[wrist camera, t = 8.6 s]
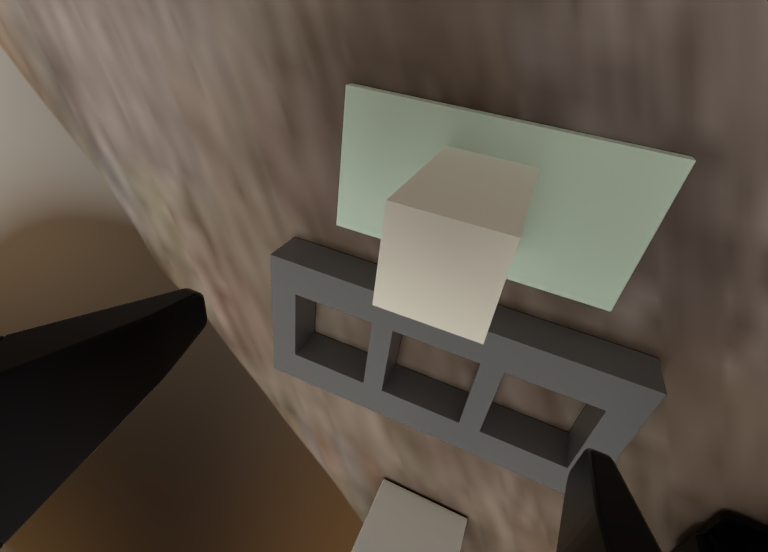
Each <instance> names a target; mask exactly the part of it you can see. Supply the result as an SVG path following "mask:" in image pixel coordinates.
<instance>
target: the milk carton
mask: <svg viewBox="0 0 768 552" xmlns="http://www.w3.org/2000/svg"><path fill="white" fill-rule="evenodd" d="M466 524H467V518H465V517H463V516H461V515H458V514H456V513H454V512H452V511H450V510H448V509H446V508H444V507H442V506H440V505H438V504H436V503H434V502H431V501H429V500H427V499H425V498H423V497H421V496H419V495H417V494H415V493H413V492H411V491H408V490H406V489H404V488H402V487H400V486H398V485H396V484H394V483H392V482H389V481H387V480H385V479H383V481H382V483H381V485H380V487H379V490H378V492H377V494H376V497H375V499H374V501H373V503H372V506H371V508H370V510H369V513H368V515H367V517H366V519H365V522H364V524H363V526H362V529H361V531H360V533H359V535H358V538H357V540H356V542H355V545H354V547H353V549H352V551H351V552H460V550H461V545H462V541H463V537H464V532H465V528H466Z"/></svg>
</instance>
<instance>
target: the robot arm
mask: <svg viewBox="0 0 768 552" xmlns="http://www.w3.org/2000/svg"><path fill="white" fill-rule="evenodd" d="M206 323H207V314H206V307H205V301H204V297H203V295H202V294H201V293H199V292H197V291H194V290H192V289H188V288H185V289H181V290H177V291H173V292H169V293H165V294H162V295H158V296H154V297H150V298H146V299H142V300H138V301H135V302H131V303H127V304H123V305H119V306H115V307H111V308H108V309H104V310H100V311H96V312H93V313H88V314H85V315H81V316H77V317H73V318H69V319H65V320H62V321H58V322H54V323H50V324H46V325H42V326H39V327H35V328H31V329H27V330H23V331H20V332H16V333H12V334H8V335H6V336H5V337H4V336H0V549H1V547H2V546H3V544H5V543H6V542H7V541H8V540H9V539H10V538H11V537H12V536H13V535H14V534H15V533H16V532H17V531H18V530H19V529H20V528H21V527H22V525H23V524H24V523H25V522H26V521H27V520H28V519H29V518H30V517H31V516H32V515H33V514H34V513H35V512H36V511H37V510H38V509H39V508H40V507H41V506H42V505H43V504H44V503H45V501H47V499H48V498H49V497H50V496H51V495H52V494H53V493H54V492H55V491H56V490H57V489H58V488H59V487H60V486H61V485H62V484H63V483H64V482H65V481H66V480H67V479H68V478H69V477H70V476H71V474H72V473H73V472H74V471H75V470H76V469H77V468H78V467H79V466H80V465H81V464H82V463H83V462H84V461H85V460H86V459H87V458H88V457H89V456H90V455H91V454H92V453H93V452H94V451H95V449H97V447H98V446H99V445H100V444H101V443H102V442H103V441H104V440H105V439H106V438H107V437H108V436H109V435H110V434H111V433H112V432H113V431H114V430H115V429H116V428H117V427H118V426H119V425H120V424H121V422H122V421H123V420H124V419H125V418H126V417H127V416H128V415H129V414H130V413H131V412H132V411H133V410H134V409H135V408H136V407H137V406H138V405H139V404H140V403H141V402H142V401H143V400H144V398H145V397H146V396H147V395H148V394H149V393H150V392H151V391H152V390H153V389H154V388H155V387H156V386H157V385H158V384H159V383H160V382H161V381H162V380H163V379H164V377H165V376H166V375H167V374H168V373H169V372H170V370H171V369H172V368H173V367H174V365H175V364H176V363H177V362H178V360H179V359H180V358H181V357H182V355H183V354H184V353H185V352H186V350H187V349H188V348H189V346H190V345H191V344H192V343H193V341H194V340H195V339H196V338H197V336H198V335H199V334H200V333H201V331H202V330H203V329H204V327H205V325H206ZM556 552H662V551H661V549H660V547H659V545H658V543H657V541H656V540H655V538H654V536H653V534H652V532H651V530H650V528H649V526H648V525H647V523H646V521H645V519H644V517H643V515H642V513H641V511H640V510H639V508H638V506H637V504H636V502H635V500H634V498H633V496H632V495H631V493H630V491H629V489H628V487H627V485H626V483H625V481H624V480H623V478H622V476H621V474H620V472H619V470H618V468H617V466H616V465H615V463H614V461H613V459H612V458H611V457H610V456H609V455H607V454H605V453H602V452H599V451H597V450H594V449H592V448H587V449H585V450H584V451H583V453H582V454H581V456H580V457H579V459H578V460H577V462H576V463H575V464H574V466H573V467H572V469H571V470H570V472H569V475H568V478H567V483H566V490H565V497H564V503H563V510H562V517H561V524H560V531H559V537H558V544H557V551H556ZM674 552H768V527H766V526H764V525H761V524H759V523H756V522H754V521H751V520H749V519H747V518H744V517H742V516H739V515H737V514H734V513H731V512H721V513H719V514H717V515H716V516H715V517H714V518H713V519H711V520H710V521H709V522H708V523H707V524H706V525H704V526H703V527H702V528H701V529H700V530H698V531H697V532H696V533H695V534H694V535H693V536H691V537H690V538H689V539H688V540H687V541H685V542H684V543H683V544H682V545H681V546H680V547H678V548H677V549H676V550H675V551H674Z"/></svg>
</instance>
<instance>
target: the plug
mask: <svg viewBox="0 0 768 552" xmlns="http://www.w3.org/2000/svg"><path fill="white" fill-rule="evenodd" d="M539 172H540V168H538V167H534V166H530V165H526V164H521V163H517V162H513V161H509V160H504V159H500V158H496V157H492V156H487V155H483V154H479V153H475V152H470V151H466V150H462V149H458V148H453V147H449V146H446V147H445V148H444V149H443V150H442V151H441V152H440V153H438V154H437V155H436V156H435V157H434V158H433V159H432V160H431V161H429V162H428V163H427V164H426V165H425V166H424V167H423V168H422V169H420V170H419V171H418V172H417V173H416V174H415V175H414V176H413V177H411V178H410V179H409V180H408V181H407V182H406V183H405V184H404V185H402V186H401V187H400V188H399V189H398V190H397V191H396V192H395V193H393V194H392V195H391V196H390V197H389V198H388V199H387V200H386V204H385V212H384V220H383V227H382V235H381V242H380V250H379V258H378V265H377V273H376V281H375V288H374V296H373V303H372V305H374V306H377V307H379V308H382V309H385V310H388V311H391V312H394V313H396V314H399V315H402V316H405V317H408V318H410V319H413V320H416V321H419V322H422V323H424V324H427V325H430V326H433V327H436V328H438V329H441V330H444V331H447V332H450V333H452V334H455V335H458V336H461V337H464V338H467V339H469V340H472V341H475V342H478V343H481V344H484V341H485V338H486V335H487V332H488V330H489V327H490V324H491V321H492V318H493V315H494V312H495V309H496V307H497V304H498V301H499V298H500V295H501V292H502V289H503V287H504V284H505V281H506V278H507V275H508V272H509V269H510V267H511V264H512V261H513V258H514V255H515V252H516V249H517V246H518V244H519V241H520V238H521V234H522V231H523V227H524V224H525V220H526V217H527V213H528V210H529V207H530V203H531V200H532V196H533V193H534V189H535V186H536V182H537V179H538V175H539Z"/></svg>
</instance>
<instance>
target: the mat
mask: <svg viewBox="0 0 768 552" xmlns="http://www.w3.org/2000/svg"><path fill="white" fill-rule="evenodd" d="M446 146H449V147H453V148H458V149H462V150H466V151H470V152H475V153H479V154H483V155H487V156H492V157H496V158H500V159H504V160H509V161H513V162H517V163H521V164H526V165H530V166H534V167H538V168H540V172H539V175H538V179H537V182H536V186H535V189H534V193H533V196H532V200H531V203H530V207H529V210H528V213H527V217H526V220H525V224H524V227H523V231H522V234H521V238H520V241H519V244H518V246H517V249H516V252H515V255H514V258H513V261H512V264H511V267H510V269H509V272H508V275H507V278H506V279H509V280H512V281H515V282H518V283H521V284H524V285H528V286H531V287H534V288H537V289H540V290H543V291H546V292H550V293H553V294H556V295H559V296H562V297H565V298H569V299H572V300H575V301H578V302H581V303H584V304H588V305H591V306H594V307H597V308H600V309H603V310H607V311H610V312H611V310H612V309H613V307H614V305H615V303H616V302H617V300H618V298H619V296H620V294H621V293H622V291H623V289H624V287H625V286H626V284H627V282H628V280H629V279H630V277H631V275H632V273H633V271H634V270H635V268H636V266H637V264H638V263H639V261H640V259H641V257H642V256H643V254H644V252H645V250H646V248H647V247H648V245H649V243H650V241H651V240H652V238H653V236H654V234H655V233H656V231H657V229H658V227H659V225H660V224H661V222H662V220H663V218H664V217H665V215H666V213H667V211H668V210H669V208H670V206H671V204H672V202H673V201H674V199H675V197H676V195H677V194H678V192H679V190H680V188H681V187H682V185H683V183H684V181H685V179H686V178H687V176H688V174H689V172H690V171H691V169H692V167H693V165H694V164H695V162H696V160H695V159H694V158H693V157H692V156H688V155H683V154H678V153H674V152H669V151H664V150H660V149H655V148H650V147H646V146H641V145H636V144H632V143H627V142H623V141H618V140H613V139H609V138H604V137H599V136H595V135H590V134H585V133H581V132H576V131H571V130H567V129H562V128H558V127H553V126H548V125H544V124H539V123H534V122H530V121H525V120H520V119H516V118H511V117H506V116H502V115H497V114H493V113H488V112H483V111H479V110H474V109H469V108H465V107H460V106H455V105H451V104H446V103H441V102H437V101H432V100H428V99H423V98H418V97H414V96H409V95H404V94H400V93H395V92H390V91H386V90H381V89H376V88H372V87H367V86H363V85H358V84H353V83H351V84H347V85H346V90H345V105H344V120H343V135H342V150H341V165H340V179H339V194H338V209H337V224H336V225H338V226H341V227H344V228H347V229H350V230H354V231H357V232H360V233H363V234H366V235H369V236H373V237H376V238H379V239H381V235H382V227H383V220H384V212H385V204H386V200H387V199H388V198H389V197H390V196H391V195H392V194H393V193H395V192H396V191H397V190H398V189H399V188H400V187H401V186H402V185H404V184H405V183H406V182H407V181H408V180H409V179H410V178H411V177H413V176H414V175H415V174H416V173H417V172H418V171H419V170H420V169H422V168H423V167H424V166H425V165H426V164H427V163H428V162H429V161H431V160H432V159H433V158H434V157H435V156H436V155H437V154H438V153H440V152H441V151H442V150H443V149H444V148H445V147H446Z"/></svg>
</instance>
